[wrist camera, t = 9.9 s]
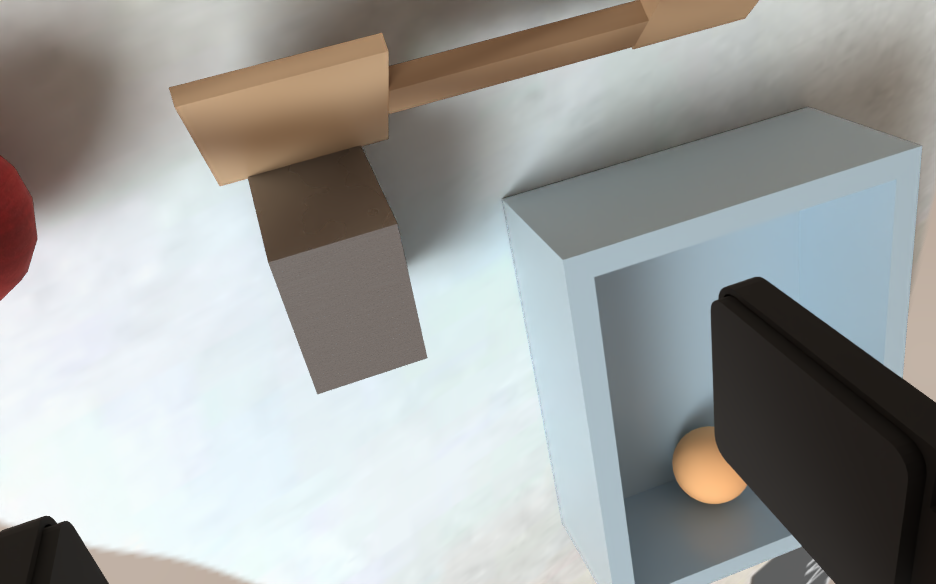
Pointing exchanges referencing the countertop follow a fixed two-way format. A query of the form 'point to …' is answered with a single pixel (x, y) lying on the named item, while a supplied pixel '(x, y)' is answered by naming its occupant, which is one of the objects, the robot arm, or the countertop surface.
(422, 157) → the countertop surface
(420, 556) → the countertop surface
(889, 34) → the countertop surface
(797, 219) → the dish
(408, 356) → the iron block
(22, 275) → the onion
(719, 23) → the lever
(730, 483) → the ball
